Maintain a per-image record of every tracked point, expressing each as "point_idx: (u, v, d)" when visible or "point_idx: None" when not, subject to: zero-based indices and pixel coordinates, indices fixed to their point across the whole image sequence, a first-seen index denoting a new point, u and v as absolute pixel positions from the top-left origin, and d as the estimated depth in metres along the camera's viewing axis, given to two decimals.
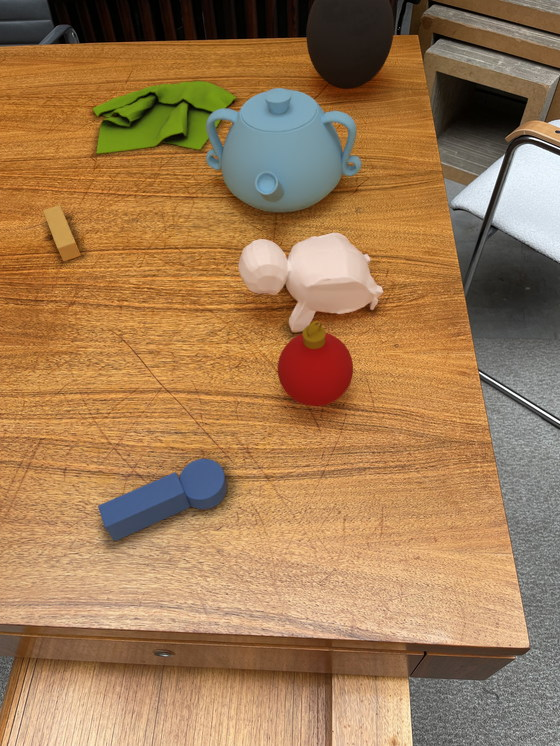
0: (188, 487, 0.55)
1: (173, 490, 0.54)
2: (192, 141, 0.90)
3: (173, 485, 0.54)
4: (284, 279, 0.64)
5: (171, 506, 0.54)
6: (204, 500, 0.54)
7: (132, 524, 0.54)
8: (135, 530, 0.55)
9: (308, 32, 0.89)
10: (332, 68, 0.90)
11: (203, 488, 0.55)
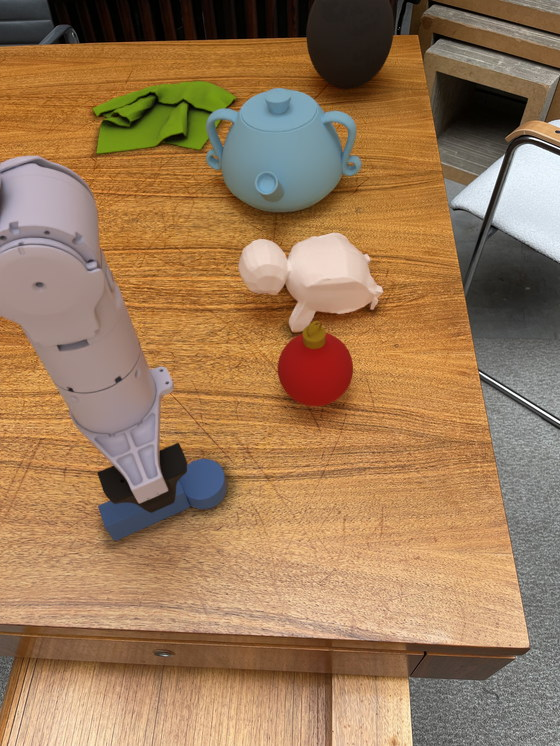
0: (188, 487, 0.55)
1: None
2: (192, 141, 0.90)
3: None
4: (284, 279, 0.64)
5: (171, 506, 0.54)
6: (204, 500, 0.54)
7: (132, 524, 0.54)
8: (135, 530, 0.55)
9: (308, 32, 0.89)
10: (332, 68, 0.90)
11: (203, 488, 0.55)
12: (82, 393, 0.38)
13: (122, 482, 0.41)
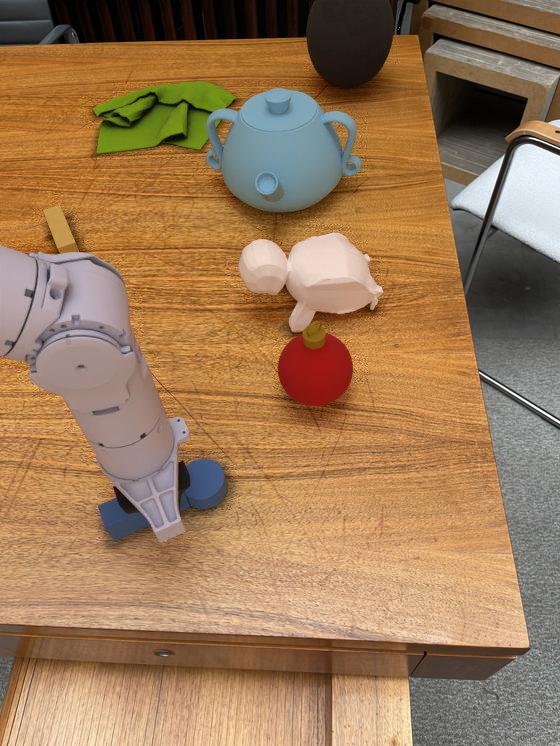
0: None
1: None
2: (192, 141, 0.90)
3: None
4: (284, 279, 0.64)
5: None
6: (204, 500, 0.54)
7: (132, 524, 0.54)
8: (135, 530, 0.55)
9: (308, 32, 0.89)
10: (332, 68, 0.90)
11: (203, 488, 0.55)
12: (111, 448, 0.43)
13: None
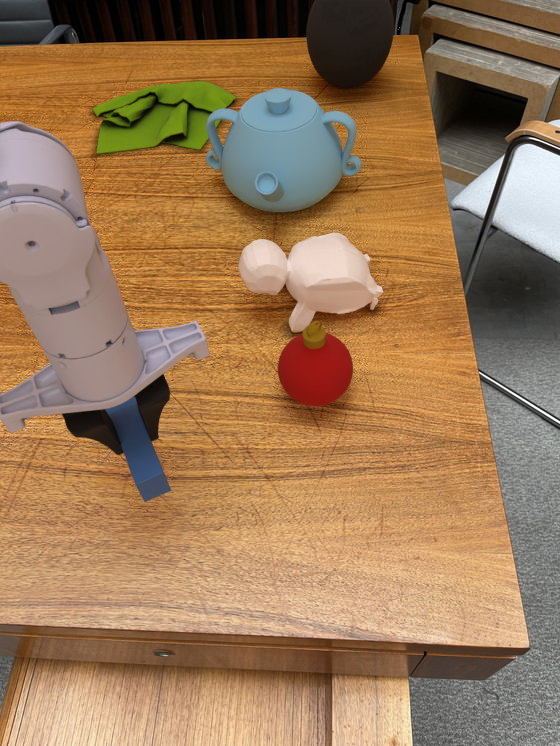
0: None
1: (131, 413, 0.50)
2: (192, 141, 0.90)
3: (126, 413, 0.50)
4: (284, 279, 0.64)
5: None
6: None
7: None
8: (162, 468, 0.50)
9: (308, 32, 0.89)
10: (332, 68, 0.90)
11: None
12: (125, 327, 0.40)
13: (153, 385, 0.45)
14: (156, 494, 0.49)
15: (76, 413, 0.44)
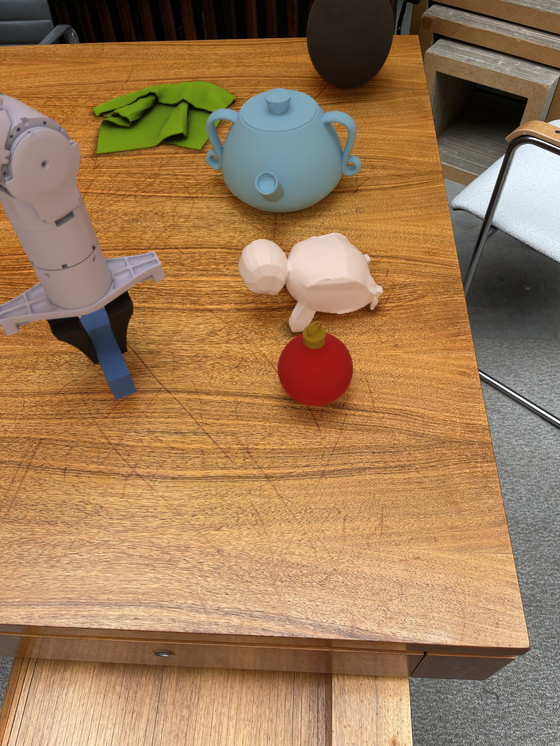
0: None
1: (105, 330, 0.62)
2: (192, 141, 0.90)
3: (101, 331, 0.62)
4: (284, 279, 0.64)
5: None
6: None
7: None
8: None
9: (308, 32, 0.89)
10: (332, 68, 0.90)
11: (106, 320, 0.65)
12: (95, 248, 0.52)
13: (120, 301, 0.57)
14: (125, 393, 0.61)
15: (59, 322, 0.56)
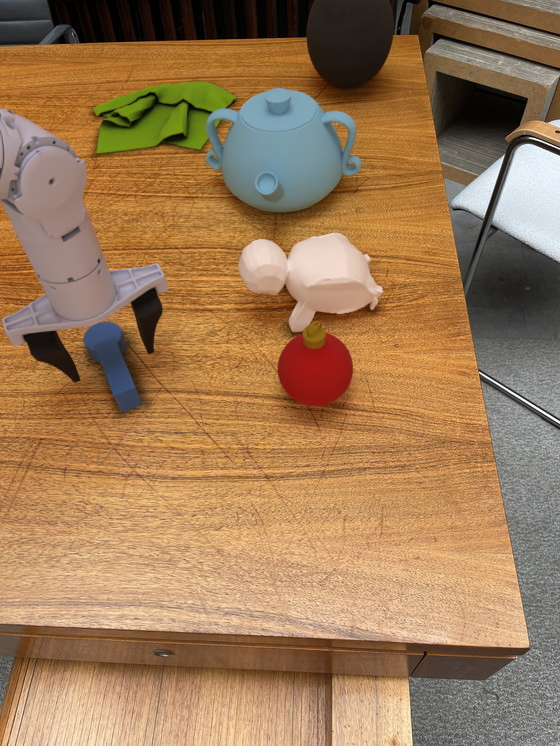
0: None
1: (111, 344, 0.64)
2: (192, 141, 0.90)
3: (107, 345, 0.64)
4: (284, 279, 0.64)
5: None
6: (122, 334, 0.66)
7: None
8: None
9: (308, 32, 0.89)
10: (332, 68, 0.90)
11: (111, 333, 0.66)
12: (100, 261, 0.53)
13: (149, 303, 0.58)
14: (130, 406, 0.62)
15: (38, 343, 0.57)
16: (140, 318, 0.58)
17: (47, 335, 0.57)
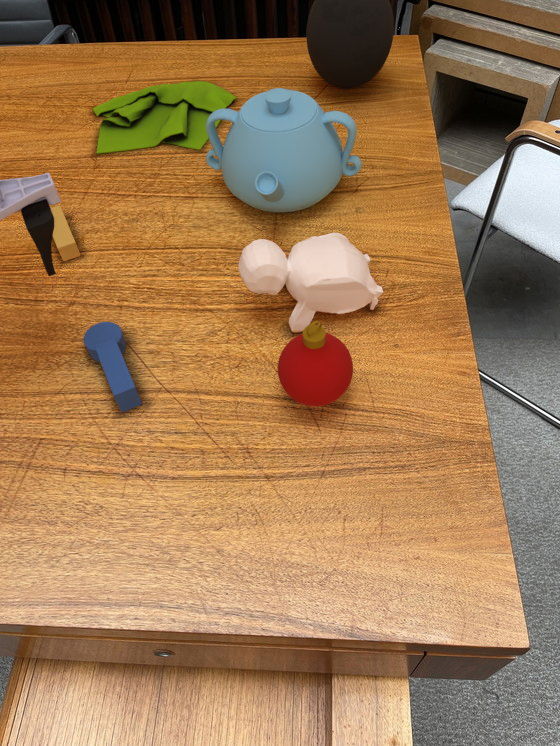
0: None
1: (111, 344, 0.64)
2: (192, 141, 0.90)
3: (107, 345, 0.64)
4: (284, 279, 0.64)
5: None
6: (122, 334, 0.66)
7: None
8: None
9: (308, 32, 0.89)
10: (332, 68, 0.90)
11: (111, 333, 0.66)
12: None
13: (40, 214, 0.56)
14: (130, 406, 0.62)
15: None
16: (28, 229, 0.55)
17: None
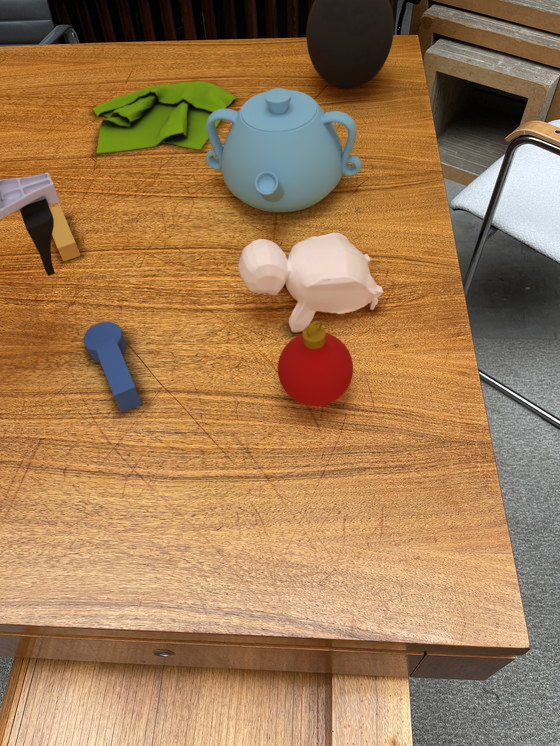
0: None
1: (111, 344, 0.64)
2: (192, 141, 0.90)
3: (107, 345, 0.64)
4: (284, 279, 0.64)
5: None
6: (122, 334, 0.66)
7: None
8: None
9: (308, 32, 0.89)
10: (332, 68, 0.90)
11: (111, 333, 0.66)
12: None
13: (39, 214, 0.56)
14: (130, 406, 0.62)
15: None
16: (28, 229, 0.55)
17: None
